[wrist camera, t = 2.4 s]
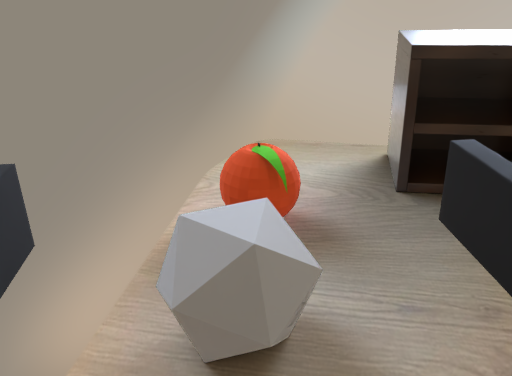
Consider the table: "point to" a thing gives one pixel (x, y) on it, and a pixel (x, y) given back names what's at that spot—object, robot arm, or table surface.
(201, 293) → the die
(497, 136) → the shelf
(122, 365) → the table surface
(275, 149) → the clementine
